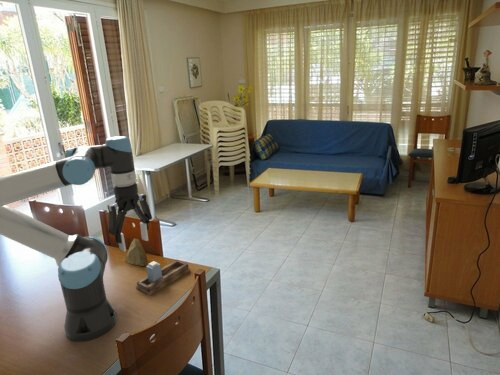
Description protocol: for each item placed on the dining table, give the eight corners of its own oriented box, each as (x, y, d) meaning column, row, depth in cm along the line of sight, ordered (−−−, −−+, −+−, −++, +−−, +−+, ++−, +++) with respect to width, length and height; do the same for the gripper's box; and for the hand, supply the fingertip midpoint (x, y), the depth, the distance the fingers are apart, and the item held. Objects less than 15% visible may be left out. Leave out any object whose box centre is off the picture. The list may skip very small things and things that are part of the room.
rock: (154, 259, 152) (149, 246, 160) (140, 248, 147) (135, 236, 155) (135, 277, 151) (130, 264, 159) (120, 267, 146) (116, 254, 154)
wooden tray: (150, 295, 131) (149, 288, 130) (136, 288, 136) (135, 281, 135) (190, 270, 146) (189, 264, 145) (176, 265, 151) (175, 258, 150)
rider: (154, 285, 135) (151, 266, 133) (148, 282, 137) (145, 264, 135) (162, 280, 138) (160, 262, 136) (156, 277, 140) (154, 259, 138)
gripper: (101, 194, 110) (113, 261, 117) (157, 177, 126) (165, 236, 133) (88, 190, 114) (100, 254, 121) (144, 174, 130) (152, 231, 137)
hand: (134, 244), depth 127 cm, fingers open, 9 cm apart
